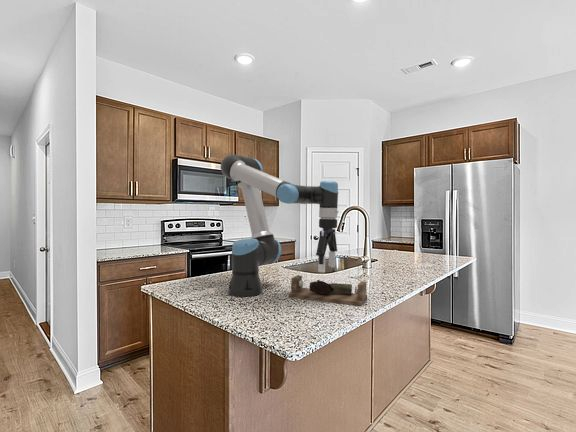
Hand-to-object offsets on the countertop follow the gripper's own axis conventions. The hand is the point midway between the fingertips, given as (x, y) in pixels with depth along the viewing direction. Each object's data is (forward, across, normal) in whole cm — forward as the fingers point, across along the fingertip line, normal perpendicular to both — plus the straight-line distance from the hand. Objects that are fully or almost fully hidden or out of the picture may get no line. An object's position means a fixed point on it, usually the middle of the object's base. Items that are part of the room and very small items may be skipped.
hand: (326, 269), depth 136 cm
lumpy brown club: (+11, 0, -2) cm, 11 cm away
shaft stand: (+12, 0, -1) cm, 12 cm away
